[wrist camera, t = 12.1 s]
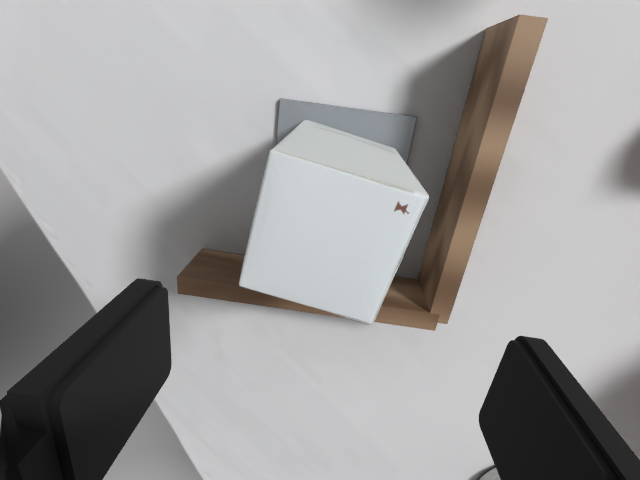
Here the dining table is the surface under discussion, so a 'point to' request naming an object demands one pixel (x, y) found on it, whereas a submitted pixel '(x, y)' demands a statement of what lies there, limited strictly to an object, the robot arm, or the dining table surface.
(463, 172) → the corner arena
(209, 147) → the dining table surface
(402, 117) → the pad
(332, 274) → the supplement box
